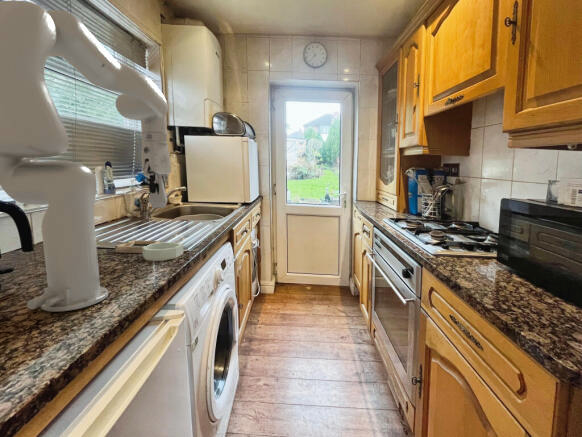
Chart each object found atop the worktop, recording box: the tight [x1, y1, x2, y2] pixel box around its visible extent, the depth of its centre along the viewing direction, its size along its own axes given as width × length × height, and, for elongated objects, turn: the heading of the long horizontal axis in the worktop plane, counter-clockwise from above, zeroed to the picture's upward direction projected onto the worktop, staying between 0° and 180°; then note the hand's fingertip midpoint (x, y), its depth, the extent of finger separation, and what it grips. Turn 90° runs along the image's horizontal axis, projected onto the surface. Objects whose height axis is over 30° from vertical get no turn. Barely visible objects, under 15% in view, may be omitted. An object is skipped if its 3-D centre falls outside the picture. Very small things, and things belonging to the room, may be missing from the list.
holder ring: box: [142, 241, 184, 262], centre depth 102 cm, size 12×12×4 cm
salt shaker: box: [148, 171, 168, 209], centre depth 100 cm, size 6×6×13 cm
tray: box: [114, 239, 162, 254], centre depth 111 cm, size 11×11×2 cm
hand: (157, 194), depth 100 cm, fingers closed on salt shaker, 3 cm apart
